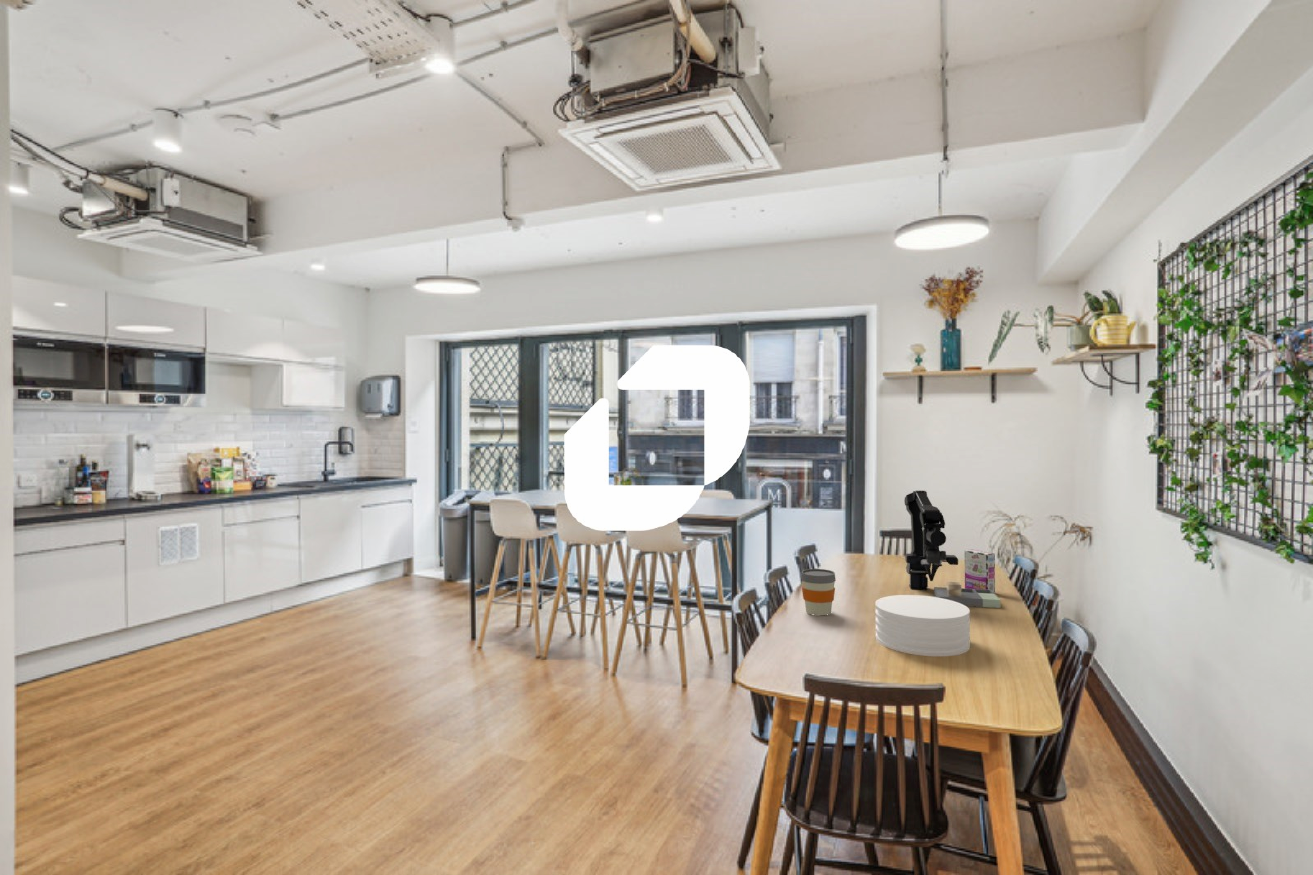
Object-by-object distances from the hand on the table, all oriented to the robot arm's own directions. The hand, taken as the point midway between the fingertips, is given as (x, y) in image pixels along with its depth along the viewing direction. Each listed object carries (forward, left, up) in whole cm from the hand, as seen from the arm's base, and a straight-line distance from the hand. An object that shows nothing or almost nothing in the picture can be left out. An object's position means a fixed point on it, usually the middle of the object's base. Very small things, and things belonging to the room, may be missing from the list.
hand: (931, 581), depth 257 cm
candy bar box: (+22, +21, -8) cm, 31 cm away
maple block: (+8, 0, -5) cm, 10 cm away
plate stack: (-10, -52, -8) cm, 53 cm away
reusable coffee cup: (-42, -26, -8) cm, 50 cm away
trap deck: (+13, +3, -8) cm, 16 cm away
